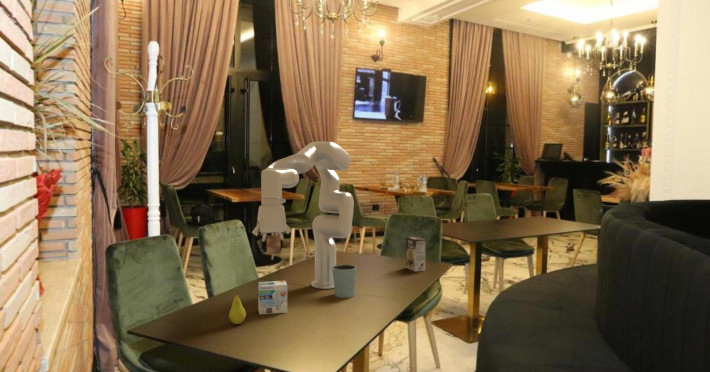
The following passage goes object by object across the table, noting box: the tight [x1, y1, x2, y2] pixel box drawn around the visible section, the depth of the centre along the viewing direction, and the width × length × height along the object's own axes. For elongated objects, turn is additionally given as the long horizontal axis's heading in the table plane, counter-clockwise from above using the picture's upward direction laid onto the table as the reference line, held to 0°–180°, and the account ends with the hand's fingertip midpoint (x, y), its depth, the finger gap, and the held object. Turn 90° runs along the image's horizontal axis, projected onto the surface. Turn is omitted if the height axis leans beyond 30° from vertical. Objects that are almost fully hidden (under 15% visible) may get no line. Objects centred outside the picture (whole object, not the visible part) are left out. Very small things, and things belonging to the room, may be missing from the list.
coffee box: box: [405, 236, 427, 272], centre depth 261 cm, size 9×6×16 cm
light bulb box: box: [257, 280, 288, 315], centre depth 194 cm, size 11×7×11 cm, turn 105°
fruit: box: [228, 291, 247, 325], centre depth 179 cm, size 6×6×12 cm
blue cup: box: [332, 263, 357, 299], centre depth 215 cm, size 10×10×12 cm
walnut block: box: [264, 234, 281, 255], centre depth 192 cm, size 5×5×6 cm
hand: (272, 250), depth 192 cm, fingers closed on walnut block, 5 cm apart
